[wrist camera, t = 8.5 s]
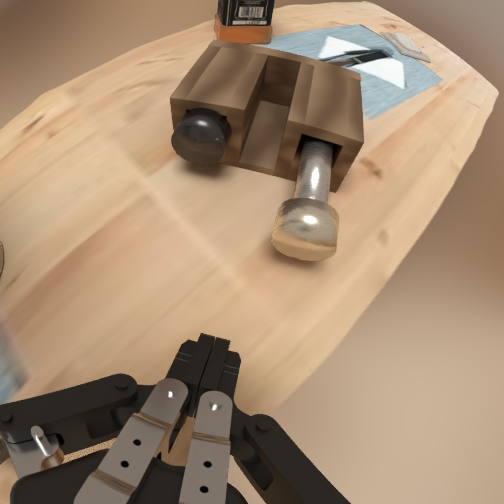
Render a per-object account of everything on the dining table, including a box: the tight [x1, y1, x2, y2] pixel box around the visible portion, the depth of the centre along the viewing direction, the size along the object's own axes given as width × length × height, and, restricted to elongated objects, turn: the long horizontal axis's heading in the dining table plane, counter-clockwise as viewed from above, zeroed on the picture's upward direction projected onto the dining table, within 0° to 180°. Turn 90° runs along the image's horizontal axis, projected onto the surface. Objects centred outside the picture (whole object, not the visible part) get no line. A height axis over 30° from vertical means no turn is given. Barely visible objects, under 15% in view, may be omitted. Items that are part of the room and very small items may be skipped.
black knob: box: [171, 108, 232, 165], centre depth 32 cm, size 6×15×6 cm, turn 167°
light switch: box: [380, 32, 430, 62], centre depth 59 cm, size 11×4×13 cm
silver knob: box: [271, 135, 339, 261], centre depth 28 cm, size 6×15×6 cm, turn 167°
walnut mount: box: [170, 40, 364, 193], centre depth 34 cm, size 20×14×9 cm
